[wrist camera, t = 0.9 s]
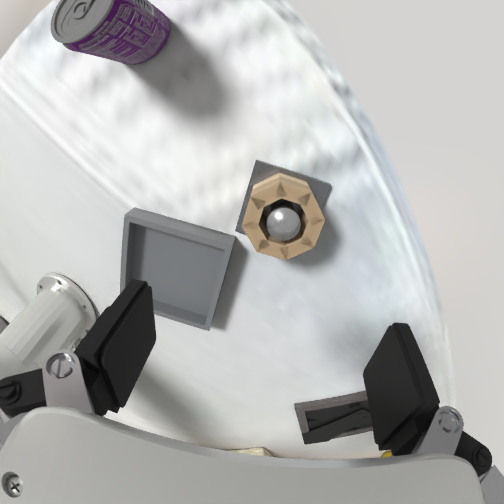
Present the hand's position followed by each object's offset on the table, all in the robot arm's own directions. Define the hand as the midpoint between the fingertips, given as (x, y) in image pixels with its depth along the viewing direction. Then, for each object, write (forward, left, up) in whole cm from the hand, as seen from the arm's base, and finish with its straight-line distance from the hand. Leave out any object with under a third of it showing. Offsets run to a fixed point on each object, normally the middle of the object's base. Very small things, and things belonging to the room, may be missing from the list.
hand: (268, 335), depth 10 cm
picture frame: (-35, -28, -22) cm, 50 cm away
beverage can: (+14, +19, -21) cm, 32 cm away
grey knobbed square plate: (-1, -1, -21) cm, 21 cm away
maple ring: (-1, -1, -21) cm, 21 cm away
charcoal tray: (-12, +9, -21) cm, 26 cm away
